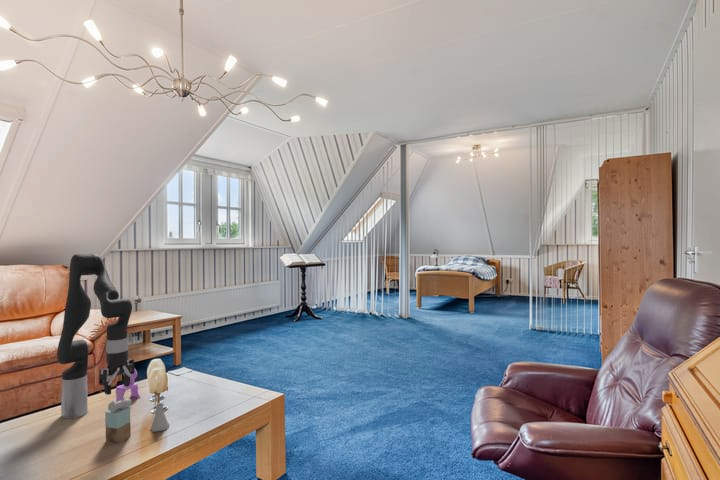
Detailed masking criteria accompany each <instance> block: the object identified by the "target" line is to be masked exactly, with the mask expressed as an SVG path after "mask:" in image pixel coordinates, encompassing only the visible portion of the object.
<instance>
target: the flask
mask: <svg viewBox="0 0 720 480" xmlns="http://www.w3.org/2000/svg"><path fill="white" fill-rule="evenodd" d="M164 404H165V403H163V402H159V403H156V404H155V415H154V418H153V420H152V424H151V425H150V431H151V432H154V433H155V432H161V431H165V430H167V429H168V428H169V427H170V423H169V420H168V419H167V416H166V414H165V412H164V406H165V405H164ZM168 430H169V429H168Z"/></svg>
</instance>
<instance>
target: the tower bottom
mask: <svg viewBox="0 0 720 480" xmlns="http://www.w3.org/2000/svg"><path fill="white" fill-rule="evenodd" d="M131 433H132V432H131V421H130V422H129V423H127V424H125V425H124V426H122V427H120V428H118V429H116V428H109V427H105V443H111V444H117V445H118V444H119V445H120V443H121V442H123V441H125V440H127V439H129V438H130V437H131V435H132V434H131Z"/></svg>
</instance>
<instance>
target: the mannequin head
mask: <svg viewBox="0 0 720 480" xmlns="http://www.w3.org/2000/svg"><path fill="white" fill-rule="evenodd" d="M123 398H124V397H123ZM132 403H133V402H132V399H130V398H124V399H121V400H120V401H118V402H116V401H114V400H112V401H111V402H109V404H108V406H107V409H108V410H109V411H110V412H113V413H114V412H115V410H117V409H126V408H127V407H131V405H132Z"/></svg>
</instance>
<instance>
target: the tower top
mask: <svg viewBox="0 0 720 480" xmlns="http://www.w3.org/2000/svg"><path fill="white" fill-rule="evenodd" d="M104 413H105V414H104V415H105V418H104V421H105V424H104V425H105V428H106V427H109V428H116V429H118V428H120V427H122V426H124V425H125V424H127V423H129V422H130V423H131V406H129V407H127V408H126V409H117V410H115V412H114V413H113V412H110V411H109V409H108V410H106V411H104Z"/></svg>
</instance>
